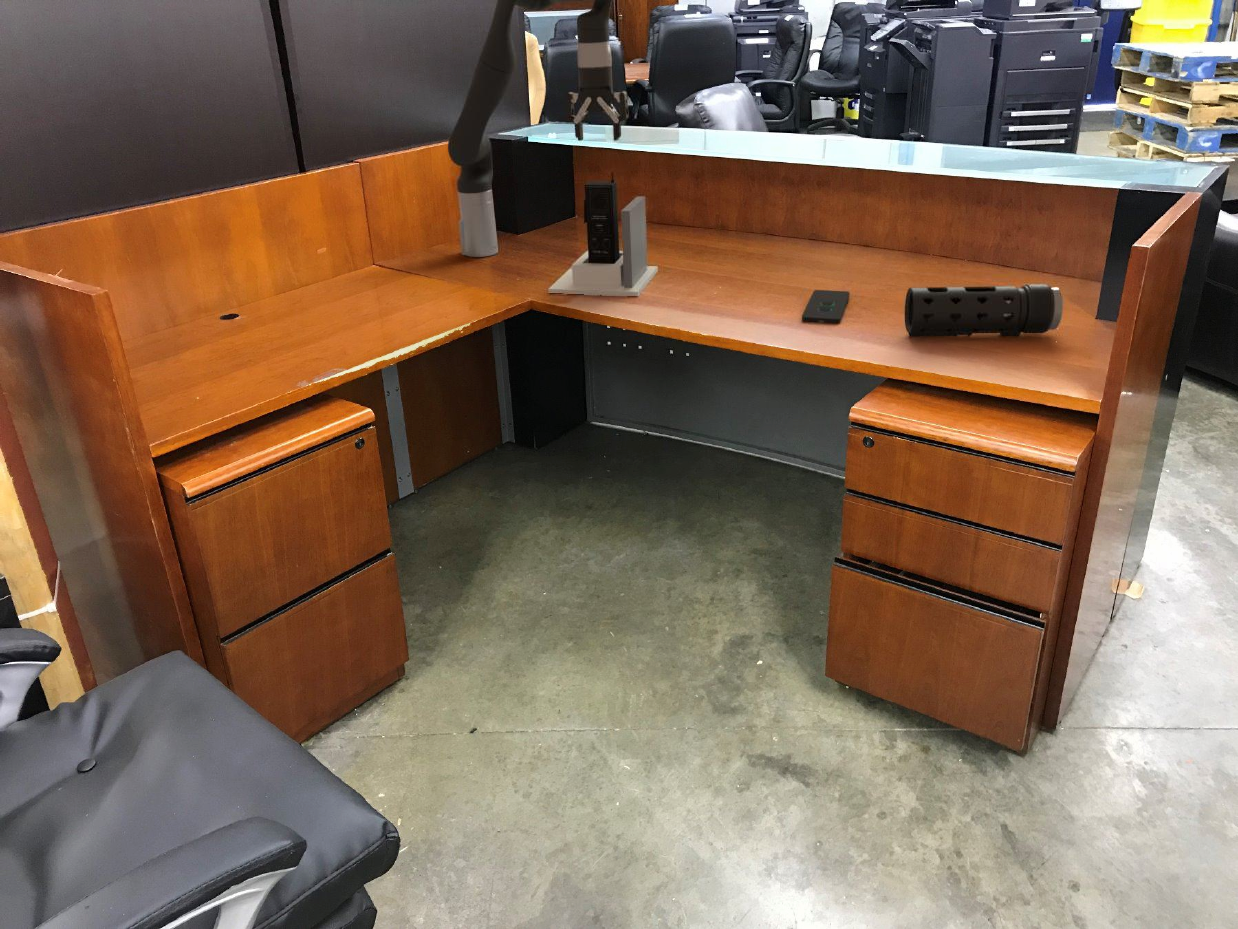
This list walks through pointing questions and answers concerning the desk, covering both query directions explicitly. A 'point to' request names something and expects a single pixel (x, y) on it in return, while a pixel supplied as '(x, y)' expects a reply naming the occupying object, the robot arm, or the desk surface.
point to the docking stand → (622, 275)
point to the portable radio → (602, 221)
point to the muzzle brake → (982, 310)
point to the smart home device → (826, 307)
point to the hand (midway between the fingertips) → (598, 140)
